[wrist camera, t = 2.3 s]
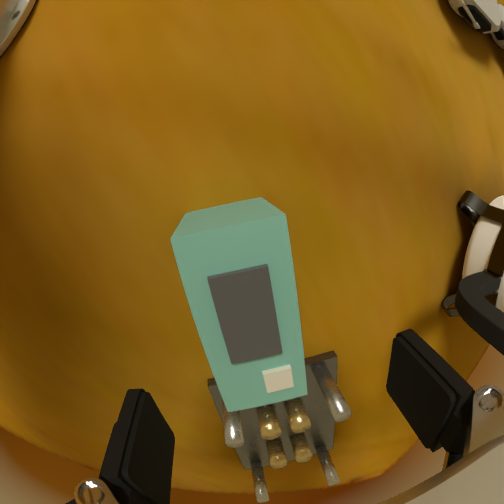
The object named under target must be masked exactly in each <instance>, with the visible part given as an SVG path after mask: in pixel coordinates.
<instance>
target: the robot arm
mask: <svg viewBox="0 0 504 504" xmlns="http://www.w3.org/2000/svg"><path fill="white" fill-rule="evenodd" d="M35 1H36V0H0V56H1V55H2V54H3V52H4V51H5V50H6V49H7V47H8V46H9V45H10V43H11V42H12V40H13V39H14V37H15V36H16V35H17V33H18V32H19V30H20V28H21V27H22V25H23V24H24V22H25V21H26V19H27V17H28V15H29V13H30V12H31V10H32V8H33V6H34V4H35ZM386 388H387V392H388V394H389V395H390V397H391V398H392V399H393V401H394V402H395V404H396V405H397V407H398V408H399V410H400V411H401V412H402V414H403V415H404V417H405V418H406V420H407V421H408V423H409V424H410V426H411V427H412V429H413V430H414V432H415V433H416V435H417V436H418V438H419V439H420V440H421V442H422V444H423V445H424V446H425V447H426V448H430V449H431V451H432V452H435V451H436V450H438V449H440V448H441V447H443V448H444V449H445V450H446V454H445V459H444V464H443V469H442V471H441V472H440V473H438V474H436V475H434V476H433V477H431V478H429V479H427V480H425V481H424V482H422V483H420V484H418V485H416V486H414V487H412V488H411V489H408V490H407V491H405V492H403V493H400V494H398V495H396V496H394V497H392V498H390V499H387V500H385V501H383V502H380V503H378V504H504V393H503V391H502V390H501V389H499V388H498V387H496V386H491V385H488V386H483V387H480V388H479V389H478V390H477V391H476V392H475V391H474V390H473V388H472V387H471V386H470V385H469V384H468V383H467V382H466V381H465V380H464V379H463V378H462V377H461V376H460V375H459V374H458V373H457V372H456V371H455V370H454V369H453V368H452V367H451V366H450V365H449V364H448V363H447V362H446V361H445V360H444V359H443V358H442V357H441V356H440V355H439V354H438V353H437V352H436V351H435V350H434V349H432V348H431V347H430V346H429V345H428V344H427V343H426V342H425V341H424V340H423V339H422V338H421V337H420V336H419V335H418V334H417V333H415V332H414V331H413V330H412V329H407V330H405V331H402V332H400V333H397V335H396V338H394V339H393V344H392V352H391V360H390V366H389V373H388V379H387V385H386ZM174 445H175V437H174V434H173V432H172V430H171V429H170V427H169V426H168V424H167V422H166V421H165V419H164V417H163V416H162V414H161V412H160V411H159V409H158V407H157V405H156V404H155V402H154V400H153V398H152V396H151V395H150V393H149V392H145V390H144V389H129V390H128V391H127V393H126V396H125V399H124V402H123V405H122V408H121V411H120V414H119V417H118V421H117V422H116V423H115V425H114V427H113V430H112V433H111V437H110V440H109V443H108V447H107V450H106V453H105V457H104V460H103V464H102V468H101V471H100V475H99V479H98V478H94V477H89V478H86V479H83V480H82V481H80V482H79V483H78V484H77V485H76V488H75V490H74V497H75V499H73V500H72V501H70V502H68V503H66V504H170V489H171V477H172V466H173V455H174Z"/></svg>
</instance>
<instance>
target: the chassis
mask: <svg viewBox="0 0 504 504" xmlns="http://www.w3.org/2000/svg"><path fill="white" fill-rule="evenodd" d="M304 361H305V371H306V382H307V394H308V395H304V396H300V397H297V398H293V399H289V400H285V401H281V402H277V403H272V404H268V405H263V406H259V407H254V408H249V409H243V410H238V411H232V412H228V411H227V409H226V406H225V404H224V401H223V399H222V396H221V394H220V391H219V388H218V386H217V383H216V381H215V378H212V379H208V388H209V391H210V393H211V395H212V398H213V400H214V403H215V405H216V407H217V410H218V412H219V414H220V417H221V419H222V421H223V424H224V436H225V445H226V446H228V447H232V448H235V450H236V452H237V454H238V456H239V458H240V460H241V462H242V464H243V466H244V468H245V470H246V469H251V470H252V475H253V481H254V487H255V493H256V498H257V502H259V503H262V502H267V501H269V496H268V491H267V487H266V482H265V477H264V472H263V467H264V466H269V465H271V467H272V468H282V467H284V466H286V465H287V464H288V462H287V461H291V460H295V459H296V462H298V463H302V462H306V461H308V460H310V459H311V458H312V455H314V454H317V455H318V458H319V460H320V463H321V466H322V468H323V471H324V474H325V477H326V479H327V482H328V485H329V486H333V485H336V484H338V483H339V482H340V479H339V477H338V475H337V472H336V470H335V467H334V465H333V462H332V460H331V457H330V455H329V452H328V450H330V449H333V441H334V428H335V421H336V422H342V421H345V420H346V419H348V418H349V417H350V416H351V414H352V412H351V410H350V408H349V406H348V405H347V403H346V401H345V399H344V397H343V395H342V393H341V392H340V390H339V388H338V386H337V355H336V354H335V352H334V351H330V352H327V353H323V354H320V355H316V356H313V357H309V358H306V359H304Z"/></svg>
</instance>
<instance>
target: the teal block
mask: <svg viewBox="0 0 504 504" xmlns="http://www.w3.org/2000/svg"><path fill="white" fill-rule="evenodd" d="M170 240H171V244H172V247H173V251H174V255H175V258H176V262H177V265H178V269H179V272H180V276H181V279H182V283H183V286H184V289H185V293H186V296H187V299H188V302H189V306H190V309H191V312H192V315H193V318H194V321H195V324H196V327H197V330H198V333H199V336H200V339H201V342H202V345H203V348H204V351H205V353H206V356H207V359H208V362H209V364H210V367H211V370H212V373H213V375H214V378H215V381H216V383H217V386H218V388H219V391H220V394H221V396H222V399H223V401H224V404H225V406H226V409H227V411H228V412H232V411H238V410H243V409H249V408H254V407H259V406H263V405H268V404H272V403H277V402H281V401H285V400H289V399H293V398H297V397H300V396H304V395H308V394H307V382H306V371H305V361H304V351H303V342H302V333H301V324H300V315H299V307H298V299H297V291H296V283H295V275H294V268H293V260H292V253H291V246H290V239H289V233H288V226H287V219H286V214H284V213H283V212H282V211H280V210H279V209H278V208H276V207H275V206H273V205H272V204H271V203H269V202H268V201H266V200H265V199H263V198H262V197H259V198H254V199H249V200H244V201H239V202H234V203H229V204H224V205H220V206H215V207H210V208H206V209H201V210H197V211H192V212H188V213H185V215H184V217H183V218H182V220H181V222H180V223H179V225H178V227H177V228H176V230H175V232H174V233H173V235H172V237H171V239H170Z"/></svg>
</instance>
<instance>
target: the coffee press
mask: <svg viewBox="0 0 504 504" xmlns="http://www.w3.org/2000/svg"><path fill="white" fill-rule="evenodd" d="M458 206H459V208H460V209H461V210H462V211H463V212H464V213H465V214H466V215H467V216H468V217H469V218H470V219H471V220H472V221H473V222H474V224H475V227H474V230H473V232H472V235H471V237H470V240H469V243H468V247H467V251H466V255H465V260H464V266H463V273H462V280H461V281H460V282H459V284H458V289H457V293H454V294H451V295H448V296H446V297H445V298H444V299H443V301H442V307H443V309H444V311H445V313H446V314H447V315H448V316H450V317H453V316H461V317H462V318H463V320H464V321H465V322H466V323H467V324H468V325H469V326H470V327H471V328H472V329H473V330H474V331H475V332H477V333H478V334H479V335H480V336H481V337H482V338H484V339H485V340H486V341H487V342H488V343H490V344H491V345H492V346H493V347H494V348H496V349H497V350H498V351H499V352H500V353H502V354H503V355H504V195H502V196H500V197H498V198H496V199H494V200H493V201H492V202H491V203H490V204H487V203H486V202H484V201H483V200H482V199H480V198H479V197H478V196H476V195H475V194H474V193H472V192H471V191H465V193H464V194H463V196H462V197H461V199H460V200H459V202H458ZM453 303H455V306H456V308H448V306H449V305H451V304H453Z"/></svg>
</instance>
